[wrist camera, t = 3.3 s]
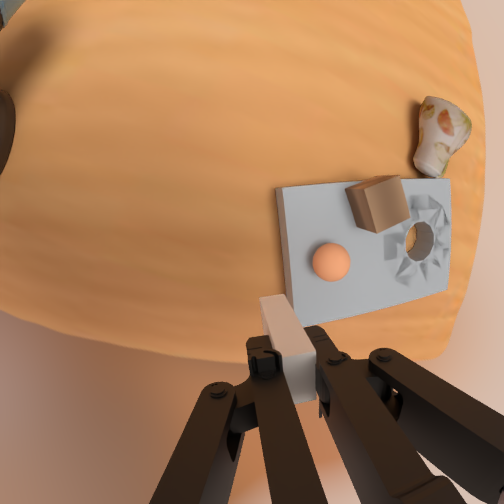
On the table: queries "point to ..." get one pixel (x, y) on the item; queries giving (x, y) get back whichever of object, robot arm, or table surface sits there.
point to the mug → (439, 135)
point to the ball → (331, 262)
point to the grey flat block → (362, 250)
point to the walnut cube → (378, 203)
